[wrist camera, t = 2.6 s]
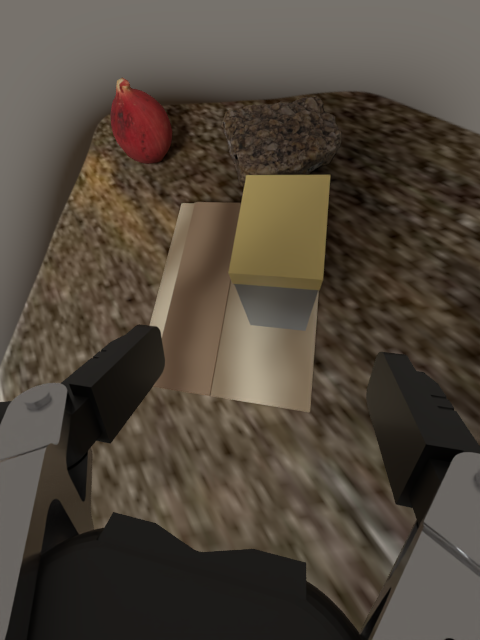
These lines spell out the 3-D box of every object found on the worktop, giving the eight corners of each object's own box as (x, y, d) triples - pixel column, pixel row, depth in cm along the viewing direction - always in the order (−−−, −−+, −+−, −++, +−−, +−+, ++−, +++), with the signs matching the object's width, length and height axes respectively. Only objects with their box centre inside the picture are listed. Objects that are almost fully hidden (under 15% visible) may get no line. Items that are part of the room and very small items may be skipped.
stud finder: (311, 262, 22) (330, 174, 14) (305, 331, 21) (323, 279, 12) (259, 260, 23) (246, 175, 15) (249, 325, 21) (228, 273, 13)
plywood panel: (323, 214, 25) (325, 204, 24) (308, 411, 20) (310, 412, 19) (185, 211, 28) (181, 201, 26) (141, 384, 23) (133, 383, 21)
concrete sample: (237, 211, 27) (228, 170, 22) (225, 141, 30) (214, 92, 25) (351, 185, 26) (366, 136, 21) (325, 116, 29) (334, 59, 24)
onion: (165, 186, 29) (125, 110, 22) (126, 173, 31) (75, 98, 23) (191, 148, 30) (161, 64, 23) (152, 137, 32) (112, 55, 24)
